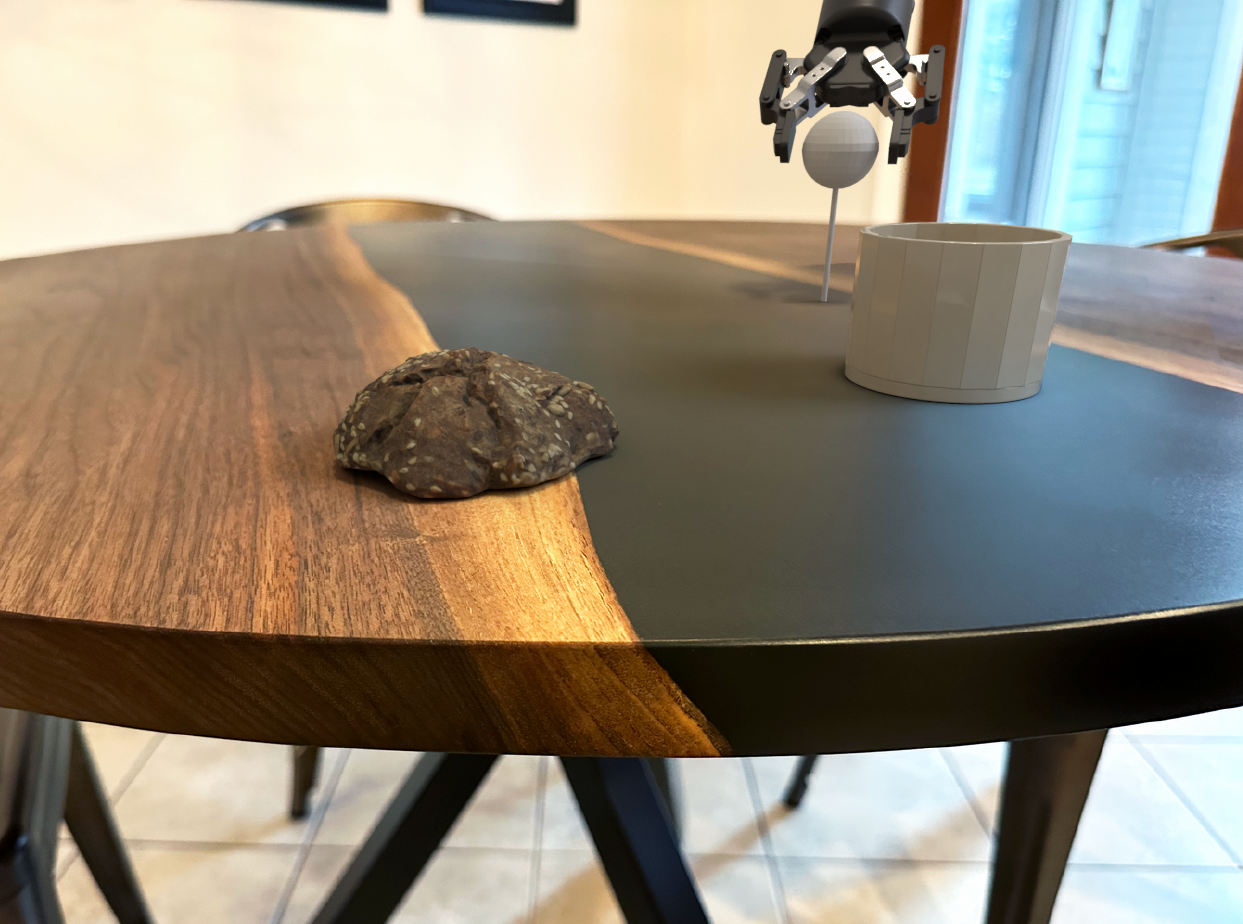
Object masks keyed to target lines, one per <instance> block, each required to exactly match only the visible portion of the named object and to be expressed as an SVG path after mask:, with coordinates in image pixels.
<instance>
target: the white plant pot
mask: <svg viewBox="0 0 1243 924" xmlns="http://www.w3.org/2000/svg"><path fill="white" fill-rule="evenodd" d="M1073 237H1074V236H1073V235H1072V234H1070V233H1067V232H1064V231H1062V230H1056V229H1051V228H1046V227H1045V228H1044V227H1036V226H1028V225H1027V226H1026V225H1016V224H1003V223H985V222H961V221H960V222H958V221H915V222H914V221H911V222H908V221H907V222H890V223H880V224H873V225H872V224H871V225H868V226H864V227H862V228H860V229H859V235H858V242H857V243H858V245H857V253H856V261H855V269H854V278H853V285H852V286H853V287H852V293H851V303H850V313H849V319H848V329H847V335H846V337H847V338H846V345H845V353H844V354H845V355H844V358H845V364H844V365H845V366H844V375H845V377H846V378H847V379H848V380H849V381H851V382H852V383H853V384H856V385H858V386H860V387H863V388H864V389H865V388H866V389H868V390H872V391H875V392H878V393H882V394H886V395H889V396H890V395H891V396H896V397H900V398H906V399H912V400H918V401H928V402H936V403H951V404H996V403H997V404H998V403H999V404H1000V403H1008V402H1014V401H1020V400H1024V399H1027V398H1032V397H1033V396H1035V395H1037V394H1038V393H1040V390H1041V389H1042V385H1043V379H1044V375H1045V373H1046V368H1047V363H1048V359H1049V354H1050V349H1051V346H1052V345H1051V344H1052V339H1053V334H1054V329H1055V326H1056V325H1055V324H1056V320H1057V314H1058V311H1059V304H1060V300H1061V297H1062V291H1063V287H1064V281H1065V276H1066V271H1067V266H1068V261H1069V257H1070V251H1071V247H1072V241H1073Z"/></svg>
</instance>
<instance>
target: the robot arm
mask: <svg viewBox="0 0 1243 924" xmlns="http://www.w3.org/2000/svg"><path fill="white" fill-rule="evenodd" d="M915 7H916V1H915V0H822V3H821V8H820V12H819V17H818V22H817V26H816V31H815V35H814V40H813V45H812V47H811V49H810V50H809V52H808V53H807V54H806V55H805V56H804V57H788V55H787V54H788V53H787V51H786V50H785V49H781V48H780V49H776V50H774V51H773V53H772V54H771V57H770V61H769V64H768V67H767V70H766V74H765V77H764V80H763V83H762V87H761V90H760V93H759V97H758V103H759V114H760V123H761V124H762V125H764V126H770V125H772V124H775V128H774V132H773V137H772V146H773V154H774V157H779V163H780V164H789V163H790V161H791V157H792V153H793V148H794V143H795V139H796V134H797V126H799V125H800V124H801V123H803V121H805V120H806V119H807V118H808V119H812V118H814V117H816V115H818V113H820V112H821V111H822V110H823V109H824V108H825V107H826V106H828V105H829V108H843V107H848V106H849V107H856V108H869V105H871V104H873V105H874V106H875V107H876V108H877V110H878V111H879V112H880V113H881V114H882V115H883V117H884V118H889V119H890V120H891V121H892V126H891V132H890V138H889V142H888V152H887V153H888V154H887V165H898V164H897V163H898V160H899V158H901V159H903V158H904V159H905V157H906V156H907V155H908V153H909V149H910V144H911V143H910V142H911V137H912V130H913V128H914V127H915V126H916V125H918V124H920V123H923V124H925V125H928V126H929V125H931V126H932V125H934V124H936V123H937V122H938V120H939V116H940V115H939V114H940V104H941V103H940V102H941V100H942V92H943V91H942V90H943V79H944V68H945V56H946V47H945V46H944V45H943V44H934V45H932V46H931V47H930V48H929V50H928V53H923V54H922V53H921V54H920V53H919V54H910V52H909V51H908V49H907V46H908V39H909V34H910V28H911V22H912V16H913V13H914V10H915ZM909 73H911V74H913V75H914V76H915V79H916V81H917V82H919V86H922V87H923V86H924V95H923V96H921V97H917V98H915V97H914V95H913V94H912V93H911V92H910V91H909V90H908V88H907V87H906V86H905V84H904V79H905V78H906V77H907V75H908V74H909ZM799 76H802V77H801V78H800V80H799V81H798V83H797V86H796V87H795V88H794V89H793V90H792V91H791V92H789V93H788V94H787V95H786V96H785V97H783V95H784V91H785V89H789V88H791V84H792V83H793V82H794V80H795V79H796V78H797V77H799Z"/></svg>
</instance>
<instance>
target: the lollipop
mask: <svg viewBox="0 0 1243 924" xmlns="http://www.w3.org/2000/svg"><path fill="white" fill-rule="evenodd" d="M879 152H880V142H879V138H878V135H877V132H876V130H875V127H874V126H873V125H872V123H871V121H869V120H868V119H867V118H866V117H865V116H863V115H862V114H860V113H857V112H855V111H851V110H839V111H834V112H831V113H828V114H826V115H825V116H823V117H821V118H819V120H817V121H816V122H815V123H814V124H813V126H812V127H811V128H810V129H809V131H808V133H807V134H806V136H805V138H804V141H803V142H802V147H801V156H802V162H803V167H804V169H805V172H806V173H807V174H808V176H809V177H810V179H812V180H813V181H814V183H815V184H818V185H820V186H821V187H823V188H827V189H832V191H831V192H832V193H831V204H830V212H829V222H828V229H827V230H828V232H827V239H826V240H827V241H826V249H825V257H824V258H825V259H824V268H823V269H824V270H823V276H822V278H823V280H822V286H821V287H822V288H821V297H820V302H827V298H828V291H829V290H828V289H829V281H830V273H831V263H832V254H833V244H834V235H835V227H836V226H835V225H836V216H837V207H838V198H839V189H845V188H850V187H852V186H854V185H856V184H858V183H859V182H860V181H863V180H864V178H865V177H866V176H867V175H868V174H869V173H870V171H871V170H872V168H873V167H874V165H875V163H876V160H877V157H878V154H879Z"/></svg>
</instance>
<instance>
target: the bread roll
mask: <svg viewBox="0 0 1243 924" xmlns="http://www.w3.org/2000/svg"><path fill="white" fill-rule="evenodd" d="M615 417H616V416H615V415H614V413H613V411H612V409H611V407H610V406H609V405H608V403H607V399H606V398H605V397H603V396H600V394H598V392H596V391H595V387H594V386H592V385H590V384H589V383H586V382H583V381H578V380H573V379H571V378H569V377H567V376H564V375H561V374H559V372H557V371H549V370H547V369H545V368H543V367H541V366H538V365H535V364H533V363H532V362H529V361H526V360H520V359H518V358H515V357H512V356H511V357H510V356H509V355H507V354H504V353H502V352H498V353H497V352H495V351H487V350H484V349H483V350H482V349H478V347H476V346H472V347H468V346H466V347H462V348H457V349H446V348H444V349H443V350H441V351H439V350H435V349H434V350H431V351H429V352H424V353H421V354H418V355H413V356H409V357H408V358H407V359H405V361H404V362H403V363H401V364H400V365H397V366H396V367H395V368H392V369H390V368H389V369H387V370H386V371H385V372H383V373H382V374H381V375H379V376H378V377H377V378H376V379H375V380H374V381H371V383H368V384H367V385H366V386H365V387H364V388H363V389H360V390H359V391H358V392H356V394H355V397H354V398H353V400H352V402H351V404H349V405H348V406H346V408H345V412H344V415H343V417H342V418H341V419H340V421H339V423H338V424H337V428H336V429H334V431H333V433H332V444H333V452H334V457H335V459H336V461H337V463H338V466H339V467H341V468H343V469H352V470H353V469H354V470H361V471H376V472H377V473H378V474H380V475H382V476H384V477H385V478H387V479H388V480H389V481H390V482H391V484H392V485H393V486H394V487H395V488H396V489H397V490H399V491H401V492H403V493H405V494H408V495H411V496H414V497H417V498H426V499H428V498H429V499H448V498H449V499H452V498H453V499H459V498H468V497H470V498H471V497H472V496H474V495H478V494H480V493H482V492H484V491H486V490H503V489H515V488H526V487H527V488H528V487H534V486H536V485H538V484H541V483H543V482H546V481H550V480H554V479H560V478H562V477H563V476H565V475H567V474H568V473H570V472H573V471H574V470H575V469H576V468H578V467H579V466H580V465H581V464H582V463H584V462H585V461H587V460H589V459H594V458H599V457H603V456H606V455H608V454H609V453H611V452H612V451H613V450H614V449H615V448H616V447H615V444H614V443H615V442H616V440H617V439H618V437H619V434H620V431H621V430H620V427H619V425H618V422H617V421H616V418H615Z"/></svg>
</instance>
